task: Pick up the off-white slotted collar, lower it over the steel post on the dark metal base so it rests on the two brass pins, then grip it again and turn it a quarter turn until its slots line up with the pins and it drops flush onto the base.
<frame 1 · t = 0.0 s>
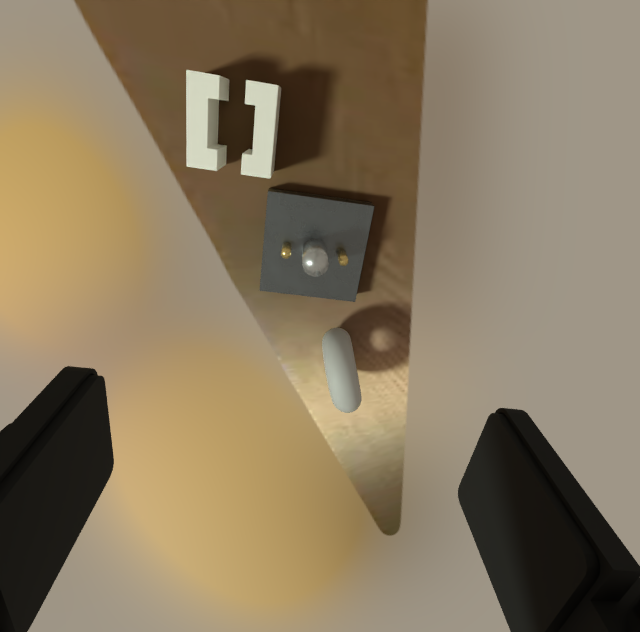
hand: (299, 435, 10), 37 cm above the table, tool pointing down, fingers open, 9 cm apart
donut: (338, 346, 52), on the table
post base: (314, 244, 46), on the table
collar: (239, 125, 40), on the table
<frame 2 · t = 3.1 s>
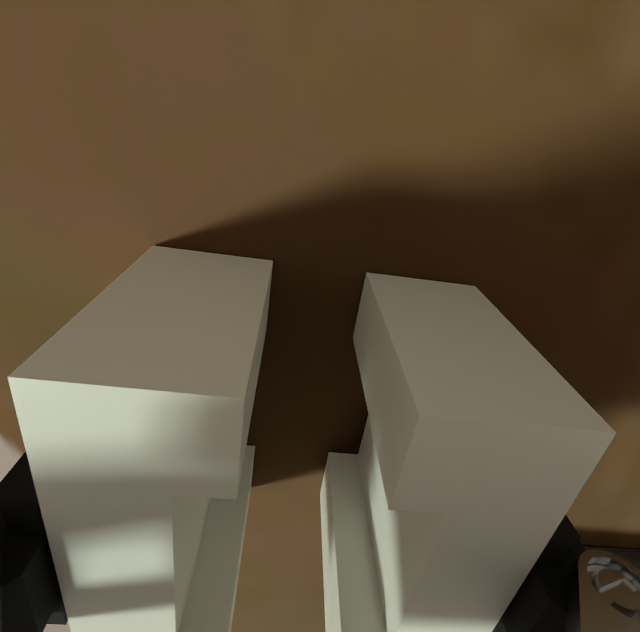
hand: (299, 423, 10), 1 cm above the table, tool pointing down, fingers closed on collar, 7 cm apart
post base: (482, 625, 17), on the table
collar: (300, 395, 11), on the table, touching gripper
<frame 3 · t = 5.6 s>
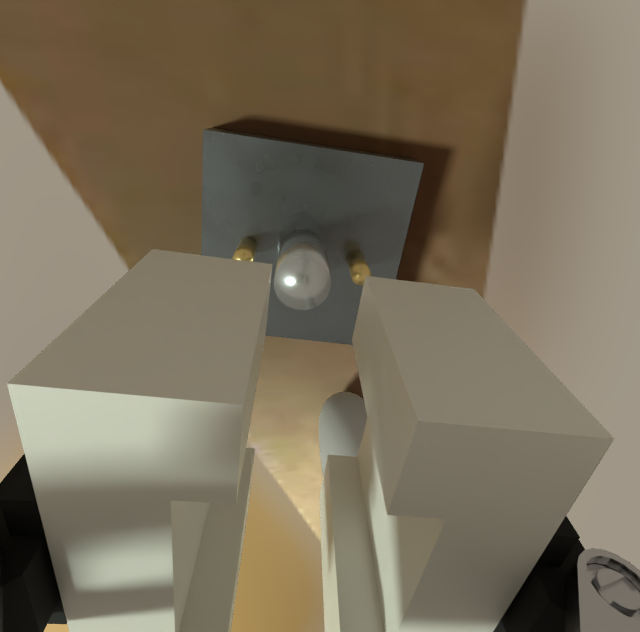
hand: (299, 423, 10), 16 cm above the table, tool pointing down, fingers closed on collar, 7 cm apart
donut: (347, 415, 31), on the table
post base: (302, 242, 24), on the table
collar: (299, 398, 11), point 15 cm above the table, touching gripper
when the fingers open (6 cm above the table, at t = 8.0 s): collar stays where it is, resting on post base.
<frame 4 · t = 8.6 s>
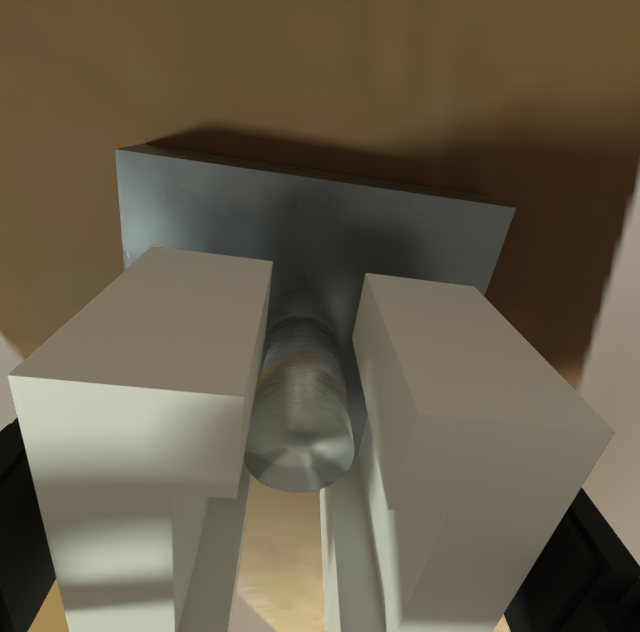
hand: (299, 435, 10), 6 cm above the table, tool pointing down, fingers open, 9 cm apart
post base: (300, 323, 15), on the table
collar: (300, 396, 11), point 4 cm above the table, touching post base
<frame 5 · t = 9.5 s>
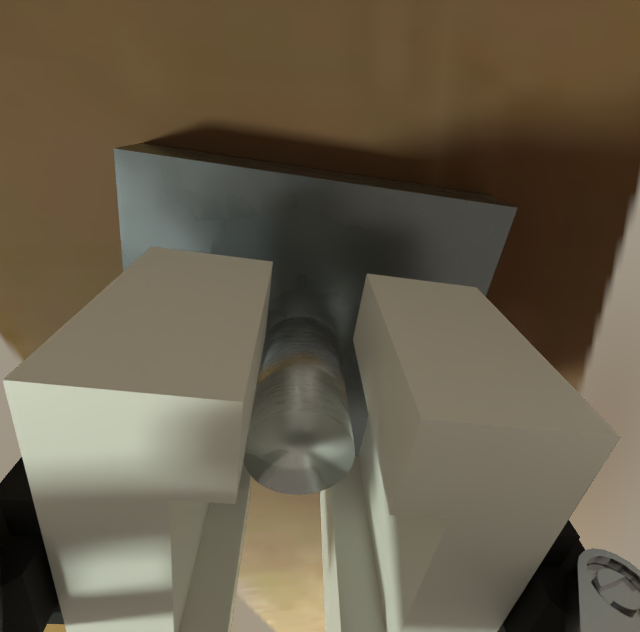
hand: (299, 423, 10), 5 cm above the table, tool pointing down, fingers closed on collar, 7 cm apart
post base: (301, 323, 15), on the table
collar: (300, 397, 11), point 5 cm above the table, touching gripper, post base
when the fingers open (5 cm above the table, at t = 12.3 s): collar drops 3 cm, resting on post base.
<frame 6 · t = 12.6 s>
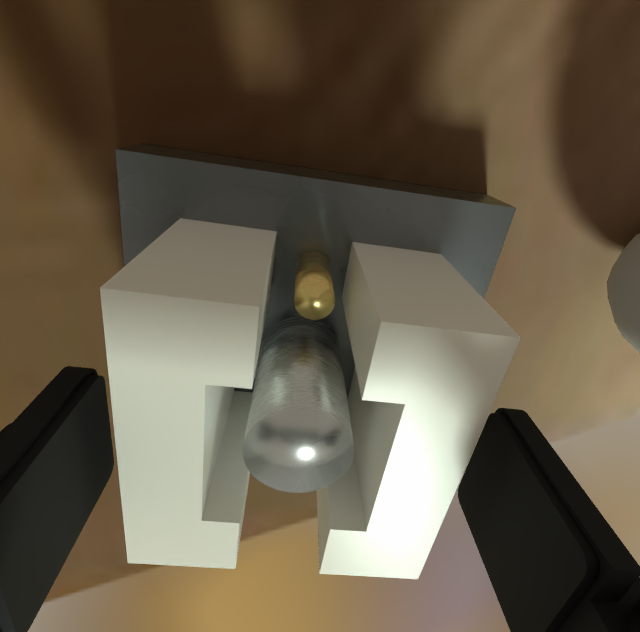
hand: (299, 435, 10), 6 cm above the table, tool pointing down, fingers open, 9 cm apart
post base: (300, 323, 15), on the table
collar: (298, 348, 13), point 2 cm above the table, touching post base
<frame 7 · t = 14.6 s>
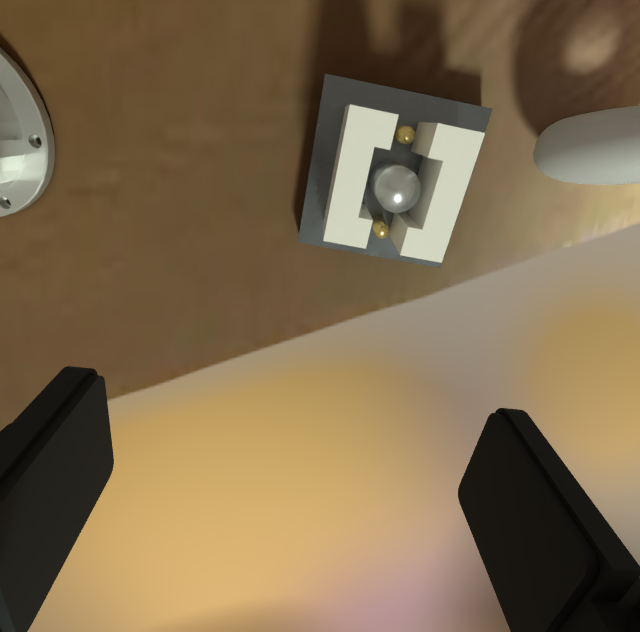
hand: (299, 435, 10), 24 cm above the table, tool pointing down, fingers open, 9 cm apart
donut: (578, 138, 29), on the table
post base: (384, 176, 30), on the table
collar: (387, 178, 28), point 2 cm above the table, touching post base
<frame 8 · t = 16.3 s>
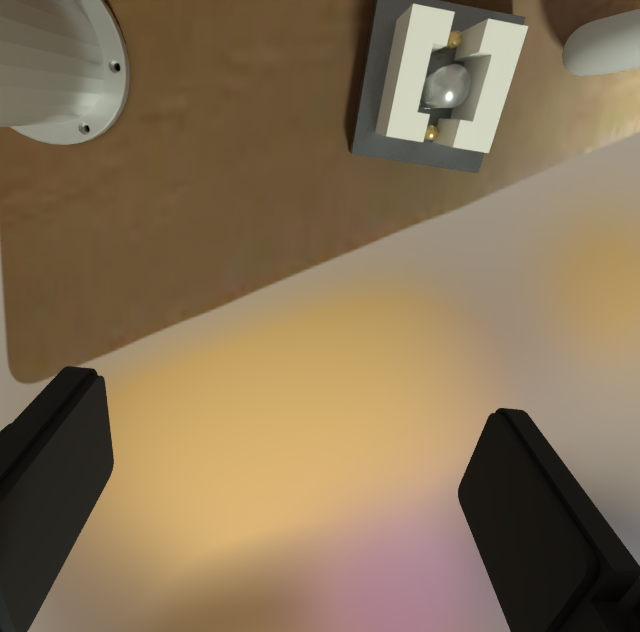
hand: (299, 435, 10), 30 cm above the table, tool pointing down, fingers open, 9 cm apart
donut: (597, 47, 33), on the table
post base: (426, 90, 33), on the table
collar: (432, 87, 32), point 2 cm above the table, touching post base
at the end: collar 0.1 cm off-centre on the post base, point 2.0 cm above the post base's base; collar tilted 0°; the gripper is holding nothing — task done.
